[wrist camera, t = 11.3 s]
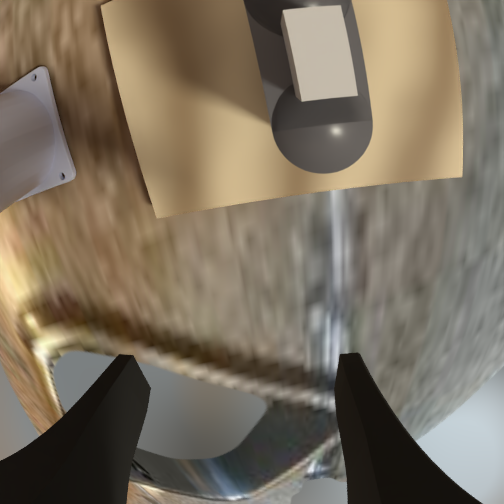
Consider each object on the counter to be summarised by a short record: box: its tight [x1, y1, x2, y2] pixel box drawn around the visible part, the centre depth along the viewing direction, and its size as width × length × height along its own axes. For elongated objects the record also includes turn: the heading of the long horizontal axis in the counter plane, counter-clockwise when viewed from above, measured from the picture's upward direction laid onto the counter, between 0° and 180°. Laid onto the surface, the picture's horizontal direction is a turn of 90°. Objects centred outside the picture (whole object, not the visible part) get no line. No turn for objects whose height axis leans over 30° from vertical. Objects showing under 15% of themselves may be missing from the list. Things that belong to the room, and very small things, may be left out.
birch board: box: [101, 0, 463, 218], centre depth 14 cm, size 18×13×1 cm
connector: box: [243, 0, 373, 174], centre depth 10 cm, size 3×8×8 cm, turn 11°
